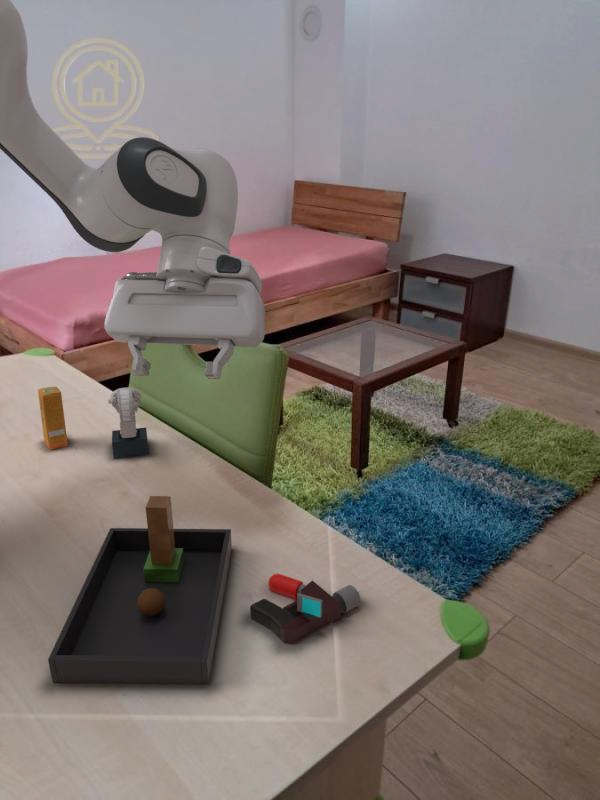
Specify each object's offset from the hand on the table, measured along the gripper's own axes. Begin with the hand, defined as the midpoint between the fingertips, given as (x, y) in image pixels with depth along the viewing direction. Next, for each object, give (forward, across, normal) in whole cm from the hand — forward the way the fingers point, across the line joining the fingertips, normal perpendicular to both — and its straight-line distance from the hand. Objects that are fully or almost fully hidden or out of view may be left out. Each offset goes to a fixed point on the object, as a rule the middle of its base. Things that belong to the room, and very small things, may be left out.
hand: (175, 376), depth 77 cm
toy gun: (+25, +18, +5) cm, 31 cm away
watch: (+5, -18, +27) cm, 33 cm away
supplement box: (+5, -31, +26) cm, 41 cm away
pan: (+27, +1, +2) cm, 27 cm away
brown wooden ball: (+26, +2, 0) cm, 26 cm away
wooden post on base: (+23, 0, +6) cm, 24 cm away
